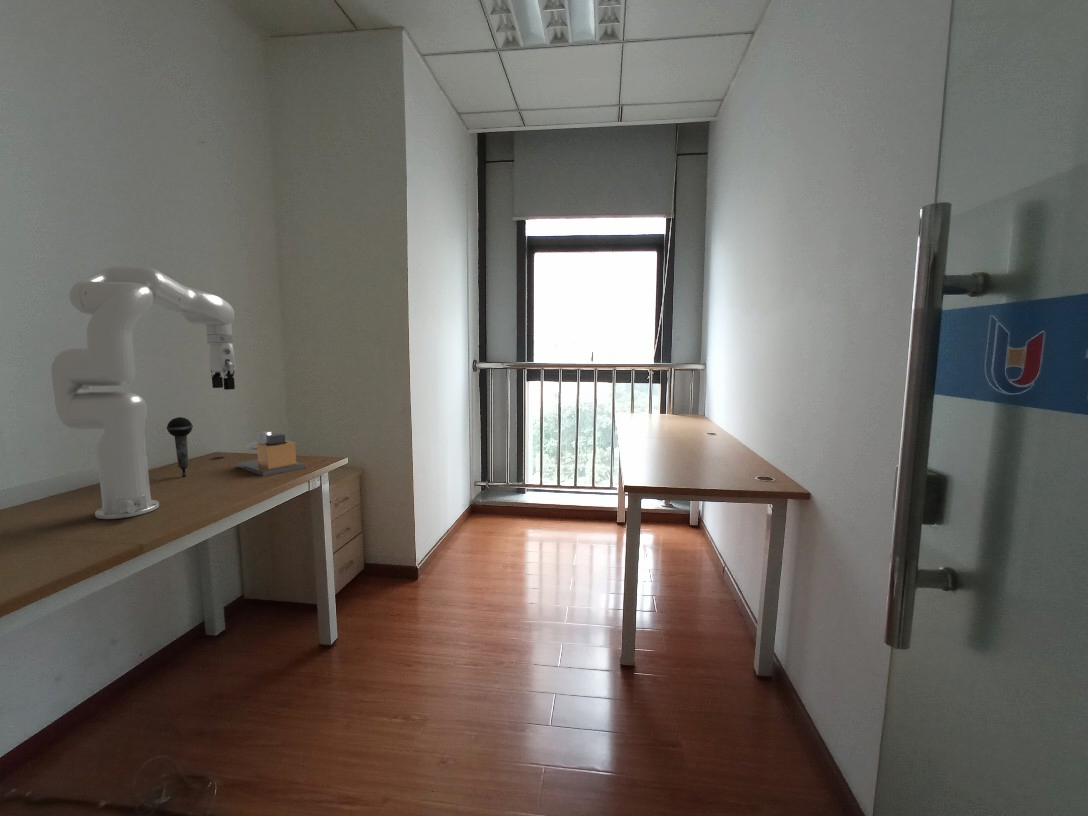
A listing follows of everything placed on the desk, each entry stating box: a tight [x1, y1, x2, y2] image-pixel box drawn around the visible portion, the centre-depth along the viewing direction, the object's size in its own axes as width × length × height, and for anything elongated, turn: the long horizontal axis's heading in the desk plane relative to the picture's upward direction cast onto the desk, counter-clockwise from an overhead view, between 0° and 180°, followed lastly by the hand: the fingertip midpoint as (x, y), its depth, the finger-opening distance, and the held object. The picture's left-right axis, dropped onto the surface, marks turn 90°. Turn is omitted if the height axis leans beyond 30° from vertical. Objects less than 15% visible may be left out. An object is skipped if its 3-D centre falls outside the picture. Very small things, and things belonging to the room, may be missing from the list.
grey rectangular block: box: [266, 433, 286, 446], centre depth 165 cm, size 3×5×11 cm, turn 140°
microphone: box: [166, 416, 194, 478], centre depth 155 cm, size 7×7×20 cm
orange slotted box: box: [236, 430, 306, 477], centre depth 168 cm, size 20×14×12 cm
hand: (223, 388), depth 167 cm, fingers open, 9 cm apart
